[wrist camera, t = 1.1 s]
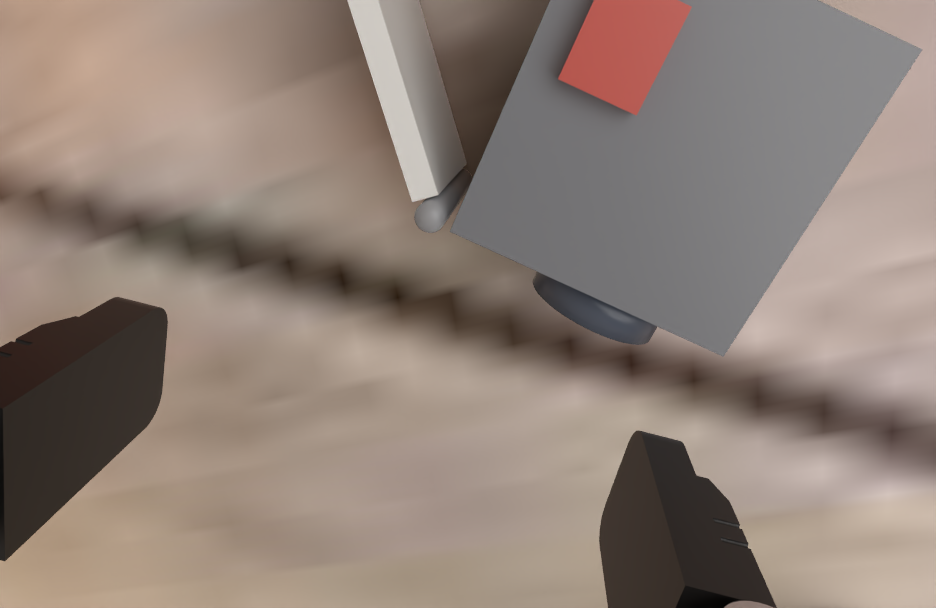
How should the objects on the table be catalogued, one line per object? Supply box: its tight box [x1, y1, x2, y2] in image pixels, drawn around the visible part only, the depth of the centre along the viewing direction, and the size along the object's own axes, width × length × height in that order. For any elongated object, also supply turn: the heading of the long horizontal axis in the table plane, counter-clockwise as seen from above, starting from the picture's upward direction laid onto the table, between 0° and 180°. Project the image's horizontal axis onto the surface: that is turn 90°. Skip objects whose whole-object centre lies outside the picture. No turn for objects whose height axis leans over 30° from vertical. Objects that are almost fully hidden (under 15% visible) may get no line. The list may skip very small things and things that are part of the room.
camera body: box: [450, 0, 922, 356], centre depth 23 cm, size 10×11×9 cm
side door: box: [347, 0, 472, 233], centre depth 23 cm, size 2×13×7 cm, turn 17°
